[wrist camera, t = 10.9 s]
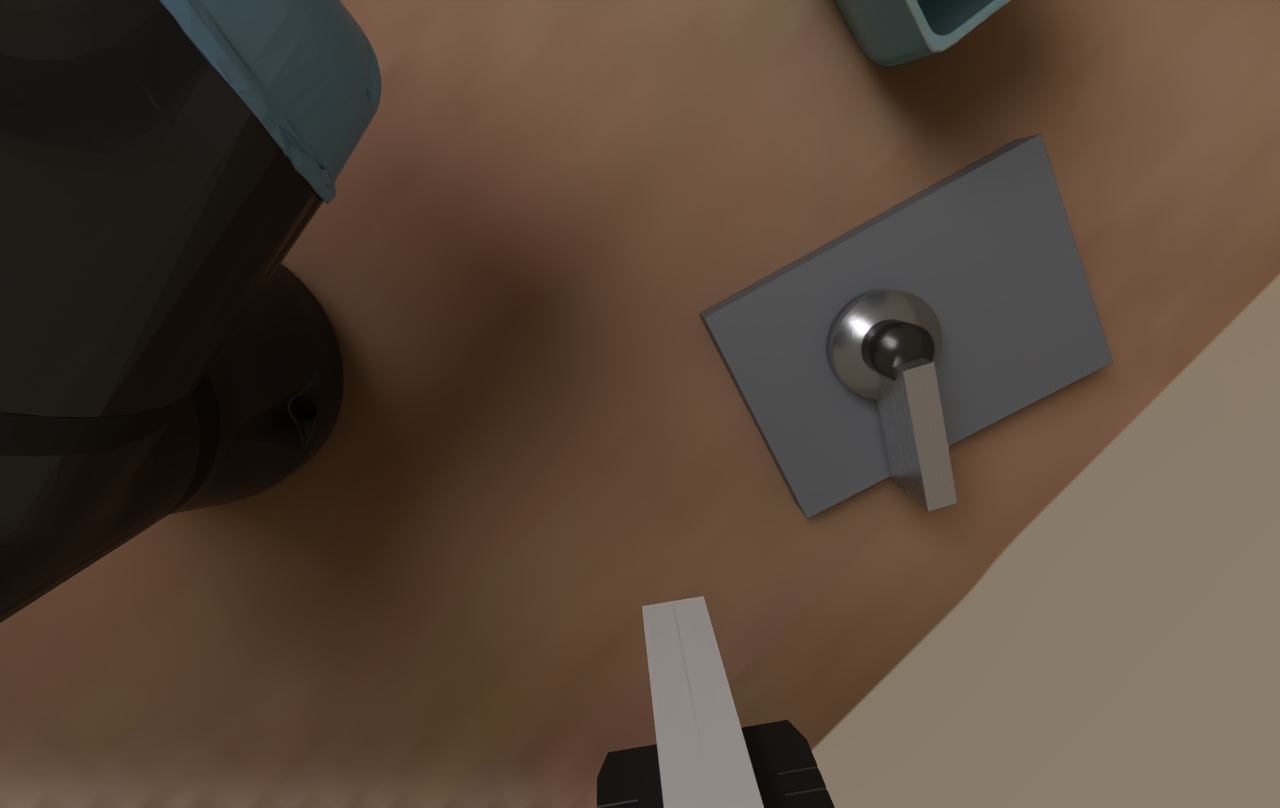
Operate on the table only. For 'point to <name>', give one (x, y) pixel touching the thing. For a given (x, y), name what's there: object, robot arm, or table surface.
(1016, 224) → the dial plate
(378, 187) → the table surface
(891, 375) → the dial lever
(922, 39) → the flower pot
